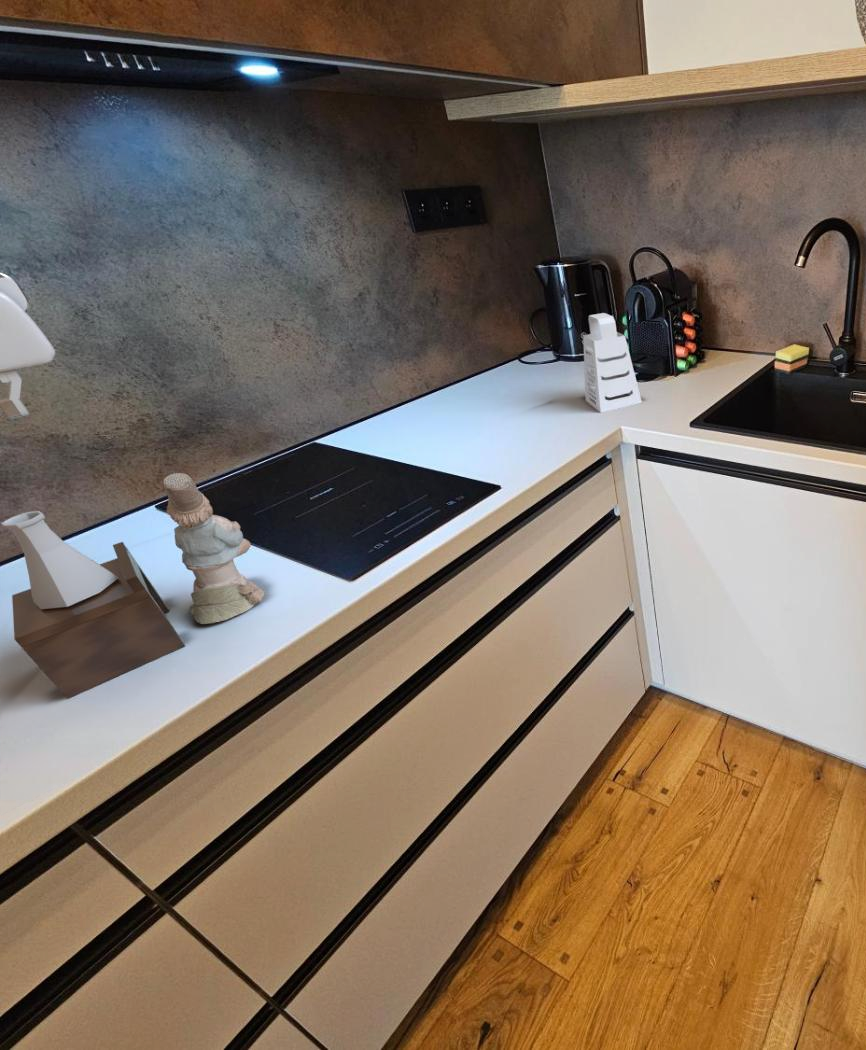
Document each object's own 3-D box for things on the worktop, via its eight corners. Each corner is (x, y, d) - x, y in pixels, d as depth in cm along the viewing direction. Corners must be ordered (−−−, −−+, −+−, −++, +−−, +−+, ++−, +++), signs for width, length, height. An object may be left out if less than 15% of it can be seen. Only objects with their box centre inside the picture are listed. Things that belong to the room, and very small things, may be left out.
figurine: (261, 615, 77) (182, 480, 67) (187, 632, 75) (93, 495, 64) (279, 578, 84) (210, 451, 74) (211, 593, 82) (131, 464, 72)
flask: (19, 607, 66) (-44, 533, 61) (89, 570, 72) (37, 499, 67) (65, 614, 64) (4, 538, 59) (133, 576, 70) (82, 503, 65)
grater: (600, 412, 135) (586, 323, 125) (585, 400, 143) (571, 316, 133) (642, 402, 139) (631, 315, 129) (625, 391, 147) (614, 308, 137)
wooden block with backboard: (67, 699, 66) (2, 626, 60) (60, 651, 73) (1, 582, 68) (185, 646, 73) (136, 576, 67) (167, 607, 80) (122, 541, 74)
